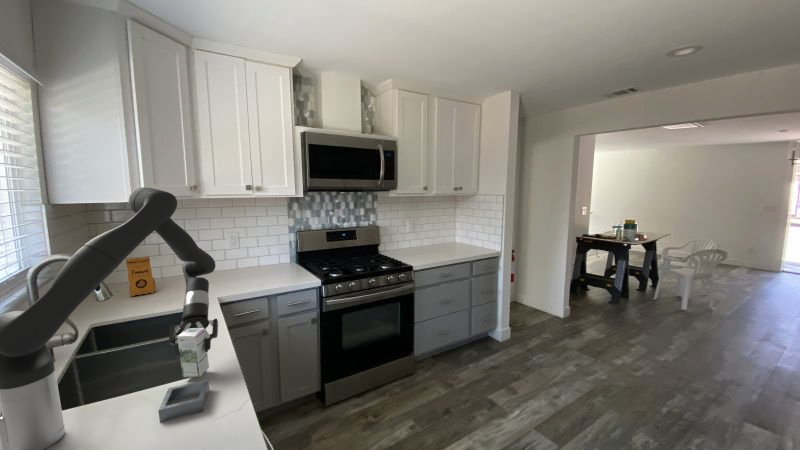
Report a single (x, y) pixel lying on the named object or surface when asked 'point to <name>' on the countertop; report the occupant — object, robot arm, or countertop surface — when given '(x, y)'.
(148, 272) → the coffee package
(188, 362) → the syrup box
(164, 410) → the gray square tray
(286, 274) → the countertop surface
